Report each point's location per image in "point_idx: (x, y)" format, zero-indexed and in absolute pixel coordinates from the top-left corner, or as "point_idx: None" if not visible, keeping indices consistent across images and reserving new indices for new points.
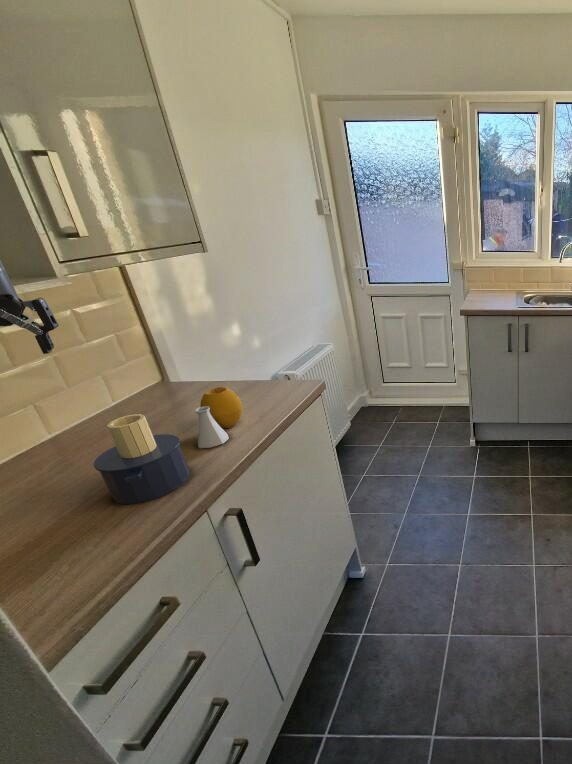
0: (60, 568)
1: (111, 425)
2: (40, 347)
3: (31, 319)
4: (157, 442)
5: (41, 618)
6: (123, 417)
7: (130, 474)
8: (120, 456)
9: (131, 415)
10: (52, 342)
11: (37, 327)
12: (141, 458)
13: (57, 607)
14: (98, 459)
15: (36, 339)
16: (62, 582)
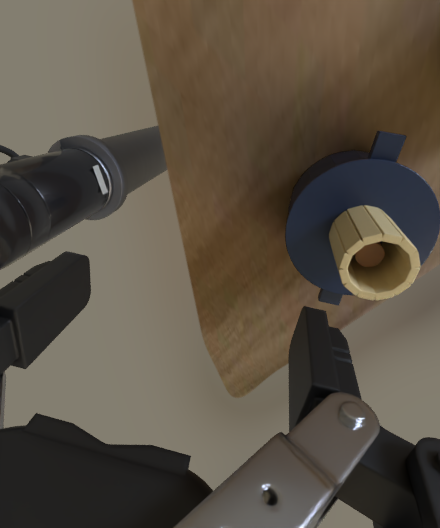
0: (236, 323)
1: (347, 273)
2: (290, 378)
3: (318, 517)
4: (398, 219)
5: (229, 376)
6: (379, 240)
7: (329, 292)
8: (328, 234)
9: (397, 241)
10: (349, 355)
11: (329, 509)
12: None
13: (238, 373)
14: (294, 217)
15: (290, 418)
16: (239, 345)
